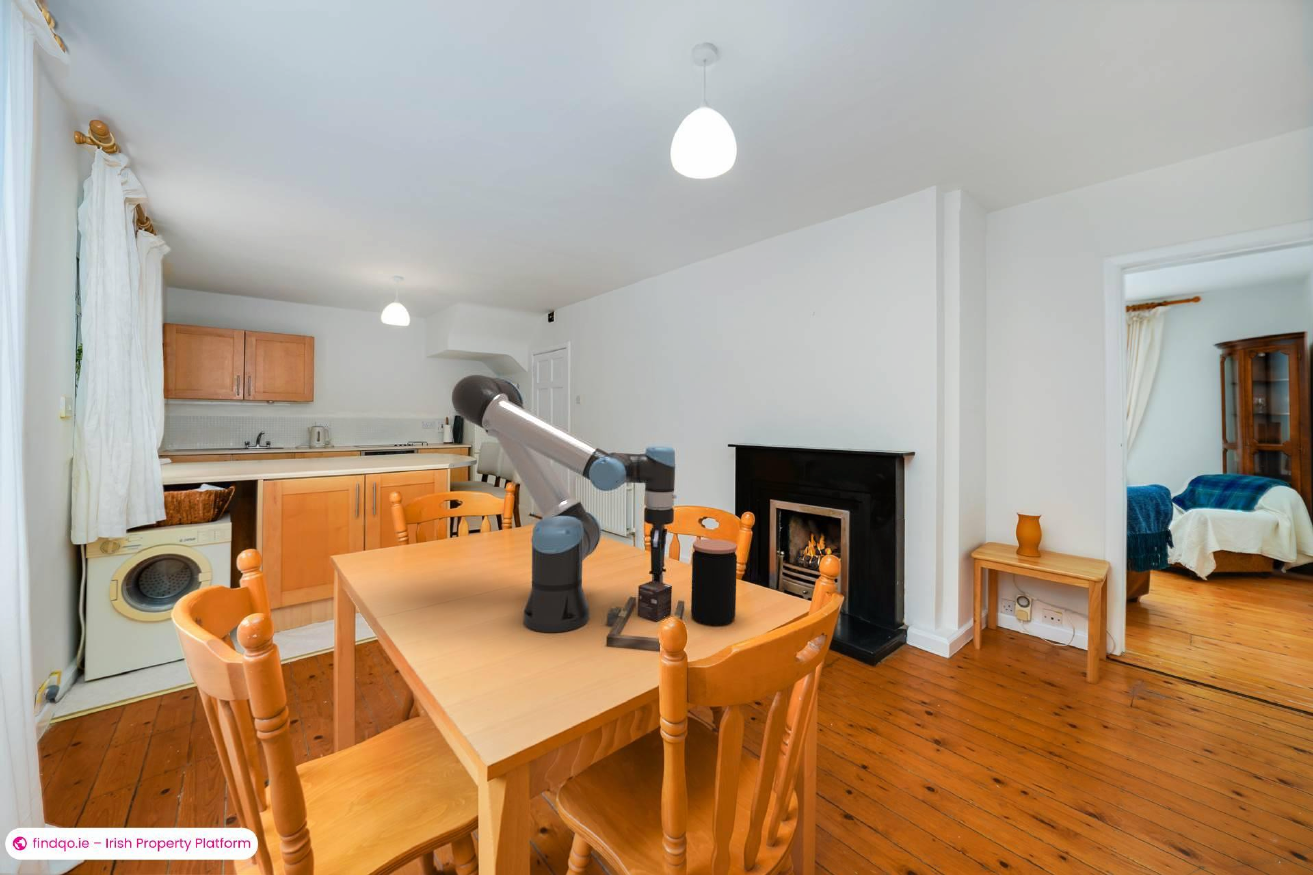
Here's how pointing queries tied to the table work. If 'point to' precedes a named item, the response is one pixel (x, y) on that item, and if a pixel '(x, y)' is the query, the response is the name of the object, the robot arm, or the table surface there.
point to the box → (654, 600)
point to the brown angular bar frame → (619, 620)
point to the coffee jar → (714, 581)
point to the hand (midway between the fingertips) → (657, 598)
